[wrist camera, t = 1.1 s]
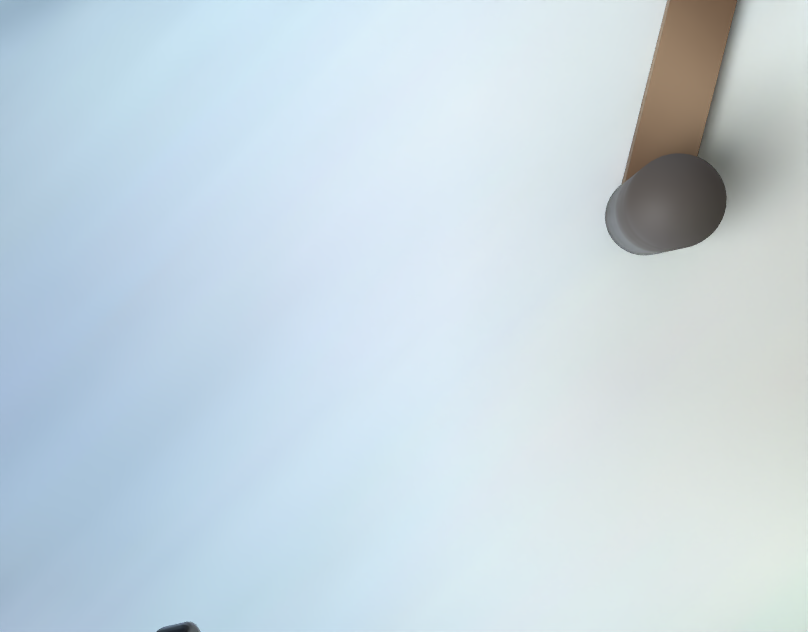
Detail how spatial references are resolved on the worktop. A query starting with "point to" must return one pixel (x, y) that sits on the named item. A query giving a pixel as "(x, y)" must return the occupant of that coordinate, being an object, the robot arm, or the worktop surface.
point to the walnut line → (674, 137)
